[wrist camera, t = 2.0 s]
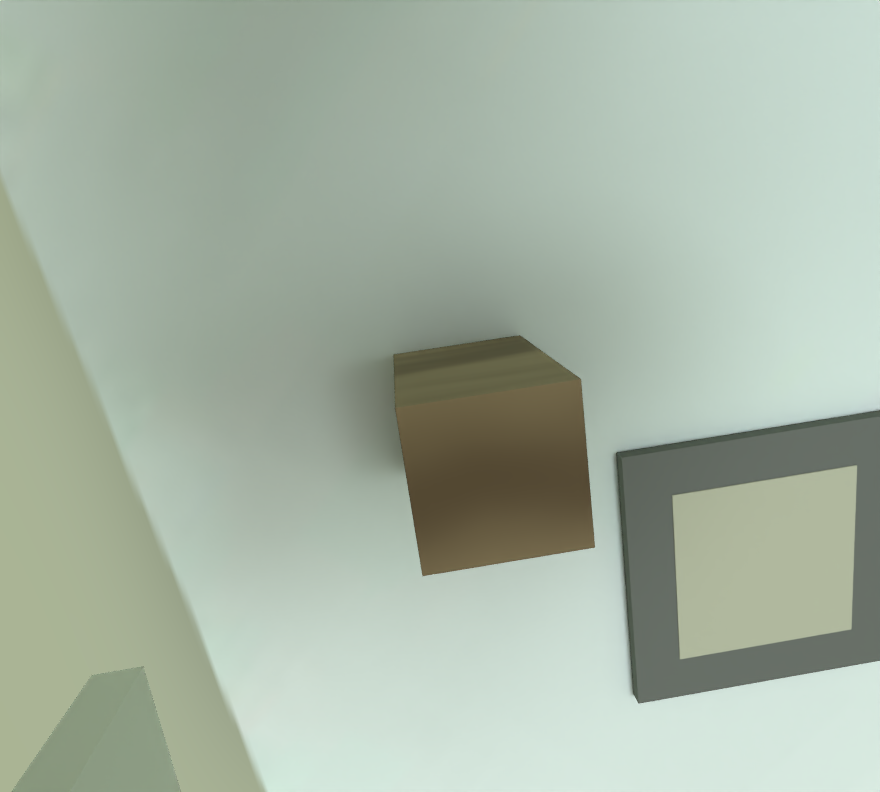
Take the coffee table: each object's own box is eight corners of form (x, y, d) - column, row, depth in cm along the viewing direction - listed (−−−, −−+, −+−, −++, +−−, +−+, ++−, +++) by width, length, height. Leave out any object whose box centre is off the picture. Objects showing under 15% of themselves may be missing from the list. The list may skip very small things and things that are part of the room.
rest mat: (616, 452, 26) (622, 458, 25) (892, 408, 26) (905, 412, 25) (633, 694, 29) (639, 704, 28) (880, 650, 29) (891, 659, 28)
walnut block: (393, 354, 24) (394, 407, 16) (520, 335, 24) (581, 379, 16) (412, 473, 25) (422, 576, 17) (532, 454, 25) (594, 547, 18)
